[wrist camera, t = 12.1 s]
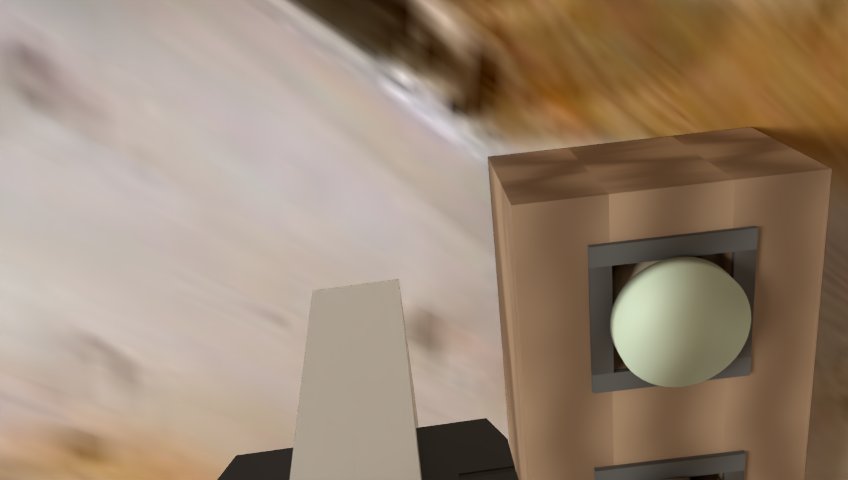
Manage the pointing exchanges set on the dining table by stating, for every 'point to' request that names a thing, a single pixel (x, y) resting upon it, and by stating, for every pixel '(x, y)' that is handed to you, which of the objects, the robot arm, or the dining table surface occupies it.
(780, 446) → the socket block
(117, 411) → the dining table surface
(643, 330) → the peg
